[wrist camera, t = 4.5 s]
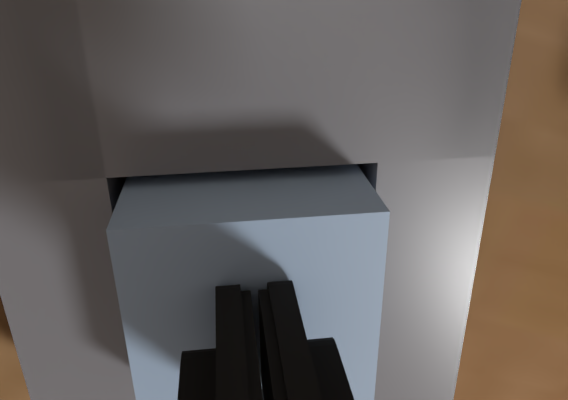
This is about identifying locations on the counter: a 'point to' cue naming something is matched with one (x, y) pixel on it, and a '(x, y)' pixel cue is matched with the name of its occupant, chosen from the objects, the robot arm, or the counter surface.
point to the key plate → (243, 153)
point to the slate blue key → (247, 262)
